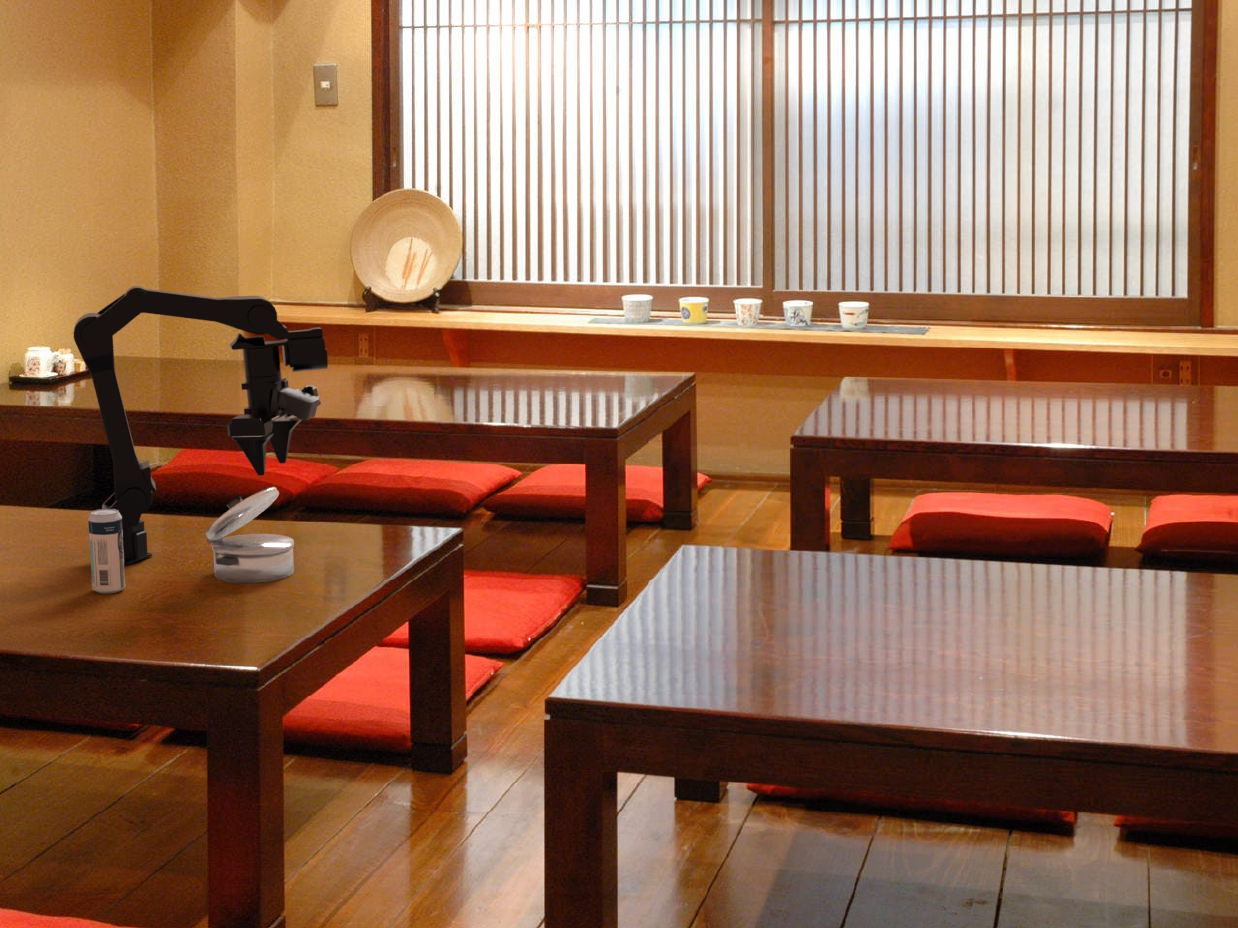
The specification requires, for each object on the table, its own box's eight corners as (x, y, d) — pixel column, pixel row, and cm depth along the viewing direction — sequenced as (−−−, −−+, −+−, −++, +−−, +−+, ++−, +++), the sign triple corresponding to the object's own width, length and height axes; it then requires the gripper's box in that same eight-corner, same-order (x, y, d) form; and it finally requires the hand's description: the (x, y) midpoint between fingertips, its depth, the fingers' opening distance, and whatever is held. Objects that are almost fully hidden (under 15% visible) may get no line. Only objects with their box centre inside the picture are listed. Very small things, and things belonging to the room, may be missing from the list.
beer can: (132, 590, 237) (127, 511, 235) (103, 596, 233) (98, 516, 231) (114, 584, 240) (110, 506, 238) (85, 590, 236) (81, 511, 234)
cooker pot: (189, 581, 242) (188, 550, 241) (250, 557, 257) (249, 528, 256) (258, 589, 238) (257, 558, 237) (316, 565, 252) (315, 535, 251)
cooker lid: (189, 551, 243) (179, 536, 243) (238, 533, 255) (228, 519, 255) (246, 500, 238) (235, 485, 238) (293, 485, 249) (283, 470, 250)
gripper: (289, 383, 246) (298, 481, 249) (330, 364, 264) (338, 456, 267) (221, 384, 248) (231, 482, 251) (267, 366, 266) (275, 457, 269)
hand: (272, 469), depth 259 cm, fingers open, 9 cm apart
